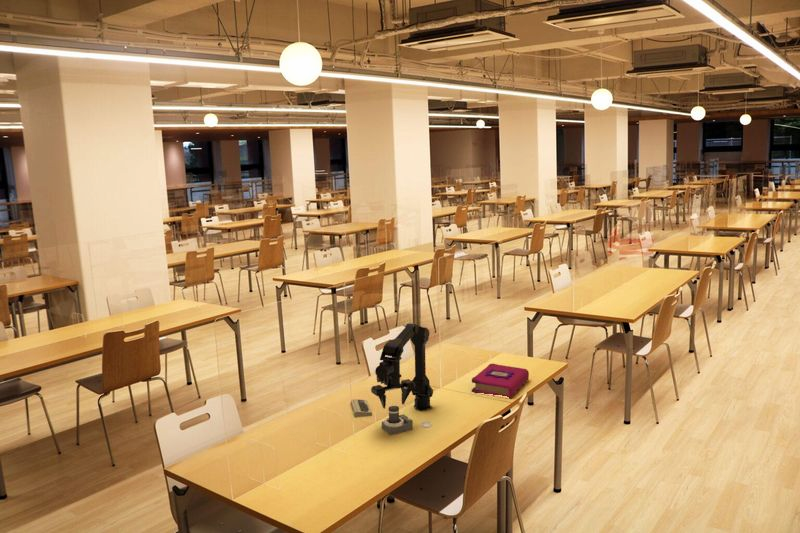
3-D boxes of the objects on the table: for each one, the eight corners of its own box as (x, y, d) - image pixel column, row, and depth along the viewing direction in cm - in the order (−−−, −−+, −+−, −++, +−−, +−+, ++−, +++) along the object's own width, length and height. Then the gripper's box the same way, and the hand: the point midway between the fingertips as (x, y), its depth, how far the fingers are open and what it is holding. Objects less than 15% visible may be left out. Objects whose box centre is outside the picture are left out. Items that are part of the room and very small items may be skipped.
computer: (372, 416, 312) (372, 409, 311) (354, 418, 310) (354, 411, 310) (367, 404, 327) (367, 397, 326) (350, 405, 325) (350, 398, 325)
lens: (396, 420, 299) (395, 404, 298) (401, 423, 295) (401, 408, 294) (386, 422, 297) (386, 406, 296) (391, 425, 293) (391, 410, 292)
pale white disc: (428, 422, 304) (428, 421, 304) (434, 426, 300) (434, 425, 300) (418, 425, 302) (418, 423, 302) (424, 429, 298) (424, 427, 297)
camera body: (403, 423, 303) (403, 412, 302) (412, 429, 296) (412, 419, 295) (381, 428, 298) (381, 417, 297) (390, 435, 291) (390, 424, 290)
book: (528, 382, 354) (529, 368, 353) (510, 400, 330) (511, 385, 328) (490, 375, 364) (490, 362, 362) (470, 393, 339) (470, 378, 338)
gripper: (402, 363, 303) (403, 396, 306) (365, 370, 294) (365, 404, 297) (415, 370, 293) (415, 404, 296) (377, 377, 284) (377, 413, 287)
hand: (393, 406), depth 294 cm, fingers open, 9 cm apart
